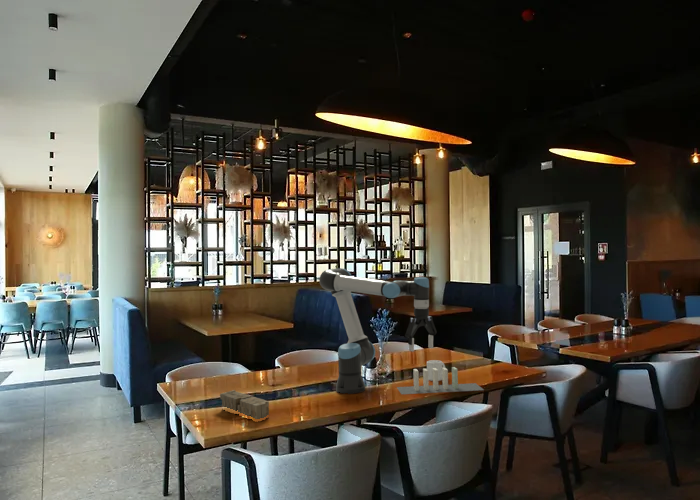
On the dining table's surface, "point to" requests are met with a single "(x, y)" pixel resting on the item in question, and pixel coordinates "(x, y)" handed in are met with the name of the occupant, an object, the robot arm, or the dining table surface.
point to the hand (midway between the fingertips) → (421, 349)
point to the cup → (436, 365)
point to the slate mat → (440, 389)
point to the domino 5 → (454, 378)
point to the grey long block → (245, 404)
